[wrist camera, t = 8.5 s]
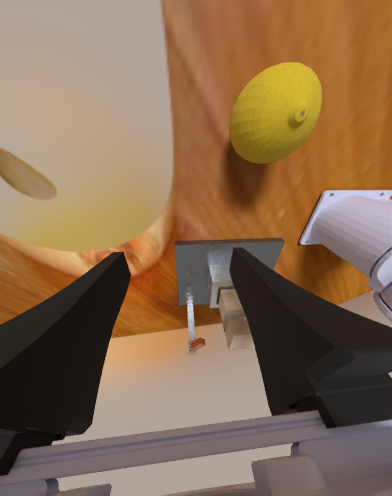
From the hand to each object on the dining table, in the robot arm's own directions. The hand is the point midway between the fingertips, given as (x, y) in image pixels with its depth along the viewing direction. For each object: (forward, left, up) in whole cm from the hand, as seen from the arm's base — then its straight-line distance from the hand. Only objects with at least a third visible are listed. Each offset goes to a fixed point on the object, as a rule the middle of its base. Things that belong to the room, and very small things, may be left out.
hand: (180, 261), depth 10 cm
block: (-7, +12, -6) cm, 15 cm away
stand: (-7, +12, -11) cm, 17 cm away
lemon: (-7, -8, -11) cm, 15 cm away
